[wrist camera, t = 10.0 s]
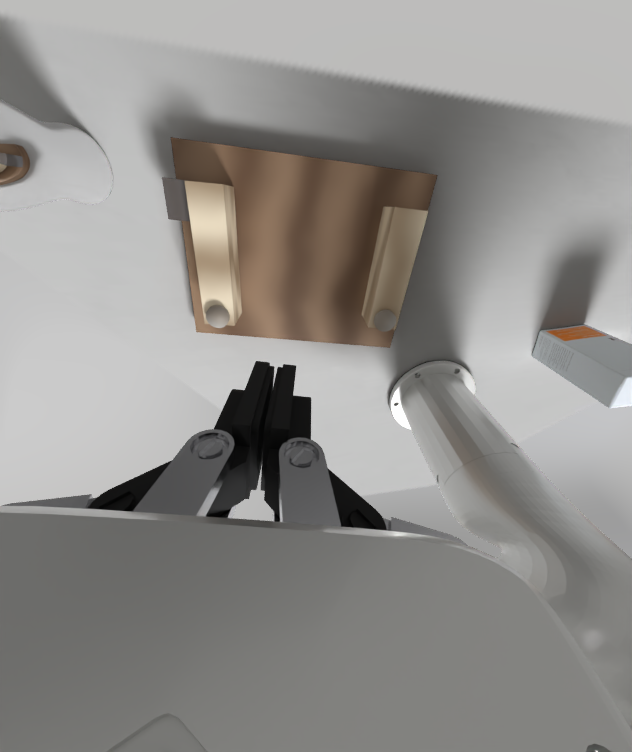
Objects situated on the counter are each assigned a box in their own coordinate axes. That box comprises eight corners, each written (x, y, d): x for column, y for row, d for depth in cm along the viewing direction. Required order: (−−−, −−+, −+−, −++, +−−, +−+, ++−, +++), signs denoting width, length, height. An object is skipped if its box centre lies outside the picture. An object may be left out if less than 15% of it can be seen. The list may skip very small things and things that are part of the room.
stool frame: (429, 176, 27) (461, 169, 22) (385, 341, 37) (400, 365, 31) (179, 141, 25) (144, 124, 20) (201, 325, 35) (182, 349, 29)
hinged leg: (241, 313, 32) (233, 328, 28) (215, 311, 31) (203, 327, 28) (233, 186, 25) (221, 183, 21) (200, 183, 25) (181, 179, 21)
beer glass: (70, 97, 23) (-207, -29, 11) (134, 185, 27) (-18, 167, 14) (18, 147, 25) (-278, 88, 12) (85, 223, 28) (-92, 239, 16)
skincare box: (585, 322, 37) (692, 368, 26) (573, 350, 39) (668, 402, 29) (538, 329, 37) (627, 377, 27) (529, 356, 39) (608, 410, 29)
